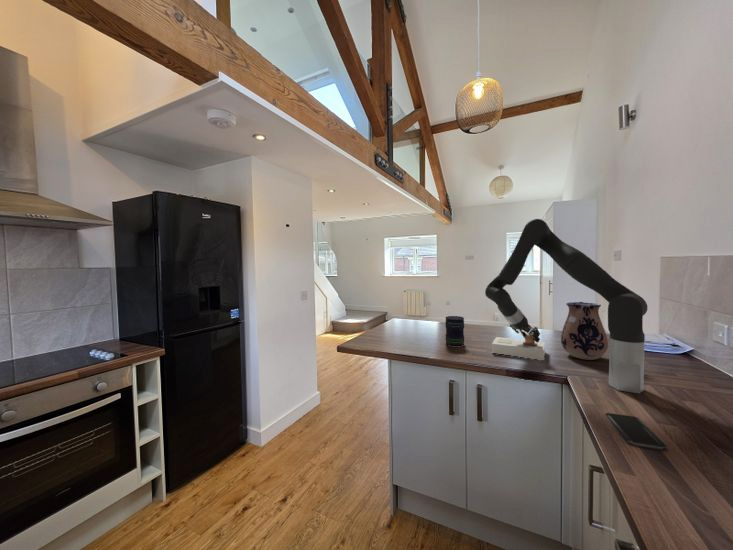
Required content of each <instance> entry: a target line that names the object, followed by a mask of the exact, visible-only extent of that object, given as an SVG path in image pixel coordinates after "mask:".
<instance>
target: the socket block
mask: <svg viewBox="0 0 733 550" xmlns="http://www.w3.org/2000/svg"><path fill="white" fill-rule="evenodd" d="M545 349H546V342H545V341H539V342H538V343H537V342H536V341H535V346H527V345H525V339H516V338H508V337H499V336H496V337H495V338H494V340H493V341H492V343H491V354H492V353H498V354H505V355H512V356H511V357H513V356H518V357H517V358H520V357H524V358H523V359H527V358H530V359H529V360H534V359H538V360H537V361H541V360H544V361H545V357H544V356H545V354H546V352H545V351H546V350H545ZM498 354H497V355H498ZM505 355H504V356H505Z"/></svg>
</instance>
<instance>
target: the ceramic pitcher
mask: <svg viewBox="0 0 733 550" xmlns="http://www.w3.org/2000/svg"><path fill="white" fill-rule="evenodd" d="M566 306H567V308H568V314H567V316H566V319H565V322H564V324H563V327H562V331H561V335H560V342H561V346H562V348H563V349H564V351H565V352H566V353H567V354H568V355H570V356H571V357H573V358H577V359H581V360H585V361H586V360H587V361H595V360H598V359H600V358H602V357H603V356H604V354H606V353H607V350H608V348H609V339H608V336H607V333H606V331H605V328H604V326H603V323H602V320H601V317H600V314H599V313H600V312H599V309H600V308H601V306H602V304H598V303H593V302H583V301H578V302H577V301H575V302H574V301H573V302H567V303H566Z"/></svg>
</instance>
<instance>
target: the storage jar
mask: <svg viewBox="0 0 733 550" xmlns="http://www.w3.org/2000/svg"><path fill="white" fill-rule="evenodd" d="M464 328H465V317H463V316H459V315H449V316H448V315H447V316H445V345H446V344H447V345H450V346H462V345H464V346H465V335H464ZM447 345H446V346H447ZM450 346H449V347H450Z"/></svg>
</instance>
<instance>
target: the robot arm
mask: <svg viewBox="0 0 733 550" xmlns="http://www.w3.org/2000/svg"><path fill="white" fill-rule="evenodd" d="M534 246H535V247H538V248H539V249H541V250H542V251H543V252H545V253H546V254H547V255H548V256H549V257H550V258H551V259H552V260H553V261H554V262H555V264H557V265H558V267H560V268H561V269H562V270H563V271H564V272H565V273H566V274H568V275H569V276H570V277H571V278H572V279H573V280H575V281H576V282H578V283H580V284H581V285H583V286H585V287H587V288H589V289H590V290H592V291H594V292H596V293H597V294H599V296H601V297H602V298H603V299H604V300H605V301H606V302H608V305H607V329H608V331H609V347H608V348H609V349H608V350H609V354H608V355H609V356H608V357H609V358H608V359H609V360H608V362H609V363H608V385H609V387H612V388H614V389H616V391H622V392H626V393H627V392H628V393H634V394H639V395H641V393H643V392H644V384H645V383H644V381H645V380H644V377H645V375H644V373H645V346H646V345H645V341H646V340H645V339H646V337H645V336H646V335H645V333H644V330H643V327H644V326H643V325H644V324H643V318H644V316H645V315H646V314H647V311H648V303H647V301H646V300H645V298H643V297H642V296H640V295H639V294H637V293H636V292H634V291H632V290H631V289H629V288H628V287H627V286H625V285H623V284H622V283H620V282H619V281H618V280H617V279H614V277H612V276H611V274H609V273H608V272H607V271H606V270H604V269H603V268H602V267H601V266H600V265H599V264H598V263H596V262H595V261H594V260H593V259H591V258H590V257H589V256H588V255H586V254H585V253H583V252H582V251H580V250H579V249H577V248H575V247H573V246H572V245H569V244H568V243H566V242H564V241H563V240H561V239H560V238H559V237H558V236H557V235H556V234H555V233H554V231H552V230H551V229H550V227H549V225H548V223H546V222H545V220H543V219H540V218H534V219H531V220H529V221H528V222H527V223H526V224H525V225H524V228H523V230H522V231H521V235H520V236H519V238H518V241H517V243H516V245H515V247H514V249H513V251H512V252H511V255H510V256H509V258H508V260H507V261H506V263H505V264H504V266H503V267H502V269H501V271H500V272H499V274H498V275H497V276H496V277H495V278H494V279H492V281H490V282H489V284H488V285H487V286H486V288H485V291H484V293H485V296H486V298H487V299H489V300H490V301H491V302H494V303H495V304H496V305H497V309H498V311H499V312H500V313H501V315H503V317H504V318H505V320H506V321H507V322H508V324H509V327H510V328H511V329H512V330H513V331H514V332H515V333H516V334H519V335H521V336H522V337H523V338H524V339H525V333H526V334H527V335H530V336H531V337H532V338H533V339H534V340H535V341H536V342H537V343H538V342H540V341H541V339H540V337H539V336H540V335H541V333H540V330H539V329H538V327H536V326H534V327H532V326H531V325H530V324H529V321H528V318H527V317H526V315H525V314H524V313H523V312H522V310H521V309H520V308H519V307H518V306H517V305H516V304H515V303H514V301H513V299H512V297H511V295H510V293H509V292H508V291H507V290H506V289H504V287H506V286H512V285H513V284H515V282H516V280H517V278H518V277H519V275H520V274H521V273H522V270H523V269H524V266H525V263H526V262H527V258H528V256H529V255H530V252H531V251H532V249H533V248H534ZM532 333H533V335H532Z"/></svg>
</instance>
